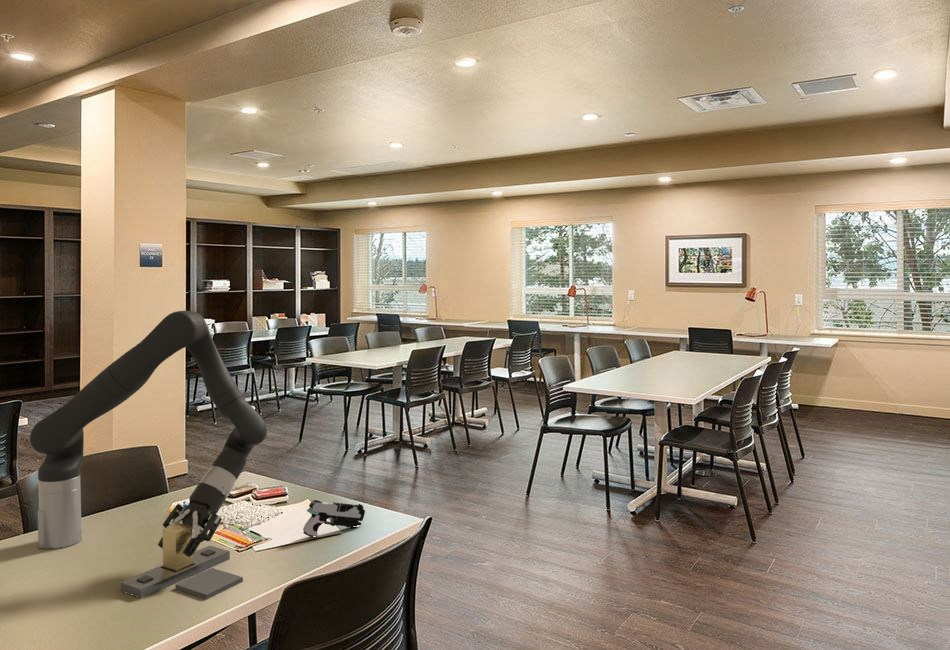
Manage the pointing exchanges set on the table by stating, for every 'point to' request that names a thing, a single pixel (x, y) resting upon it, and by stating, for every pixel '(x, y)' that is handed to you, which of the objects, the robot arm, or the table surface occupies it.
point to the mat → (209, 583)
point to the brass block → (176, 547)
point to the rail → (164, 578)
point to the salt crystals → (251, 511)
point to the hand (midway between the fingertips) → (173, 551)
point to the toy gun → (332, 515)
